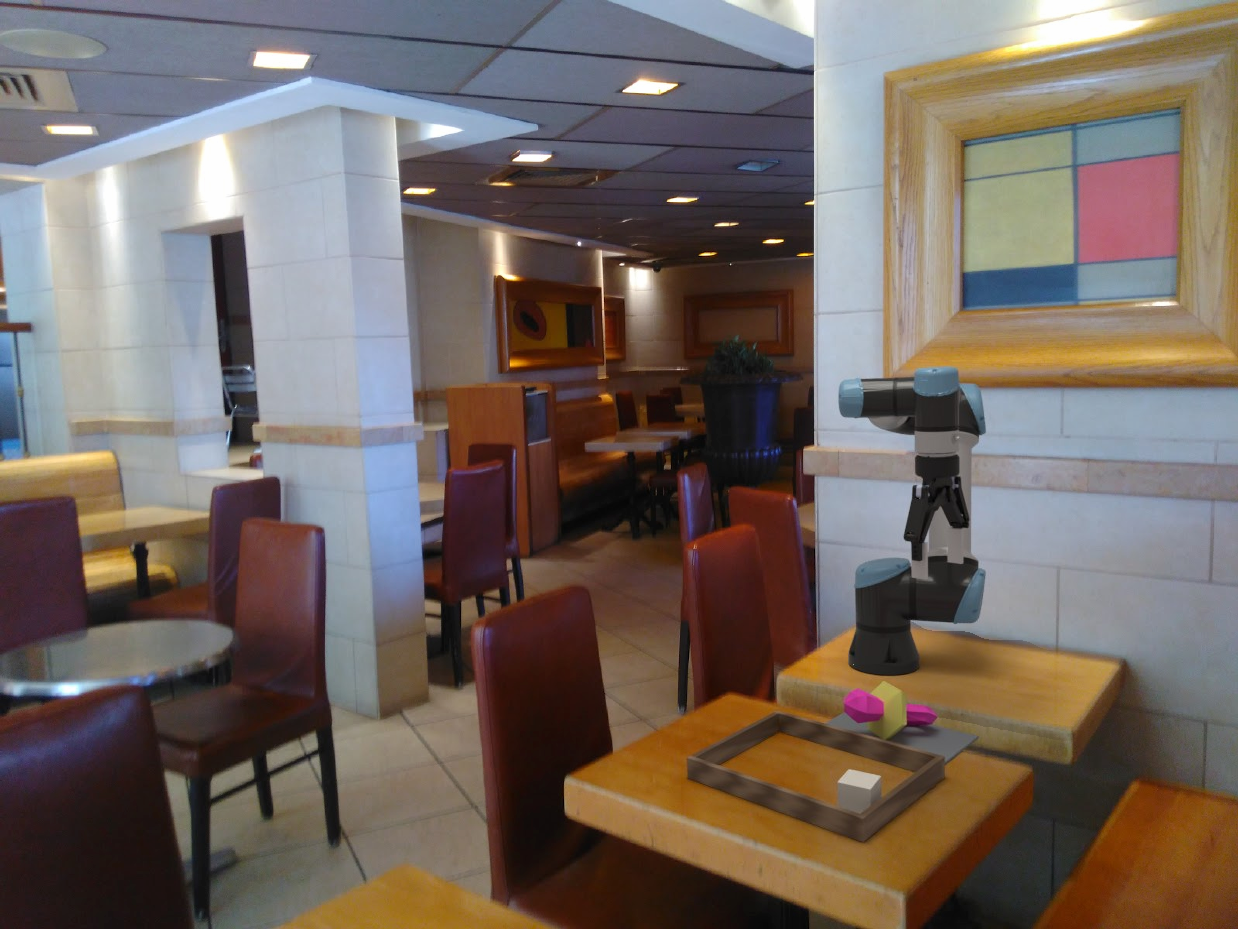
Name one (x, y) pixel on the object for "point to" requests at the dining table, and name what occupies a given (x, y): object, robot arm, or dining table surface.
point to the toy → (886, 710)
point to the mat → (917, 736)
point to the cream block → (858, 790)
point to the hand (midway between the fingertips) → (938, 570)
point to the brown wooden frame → (807, 808)
